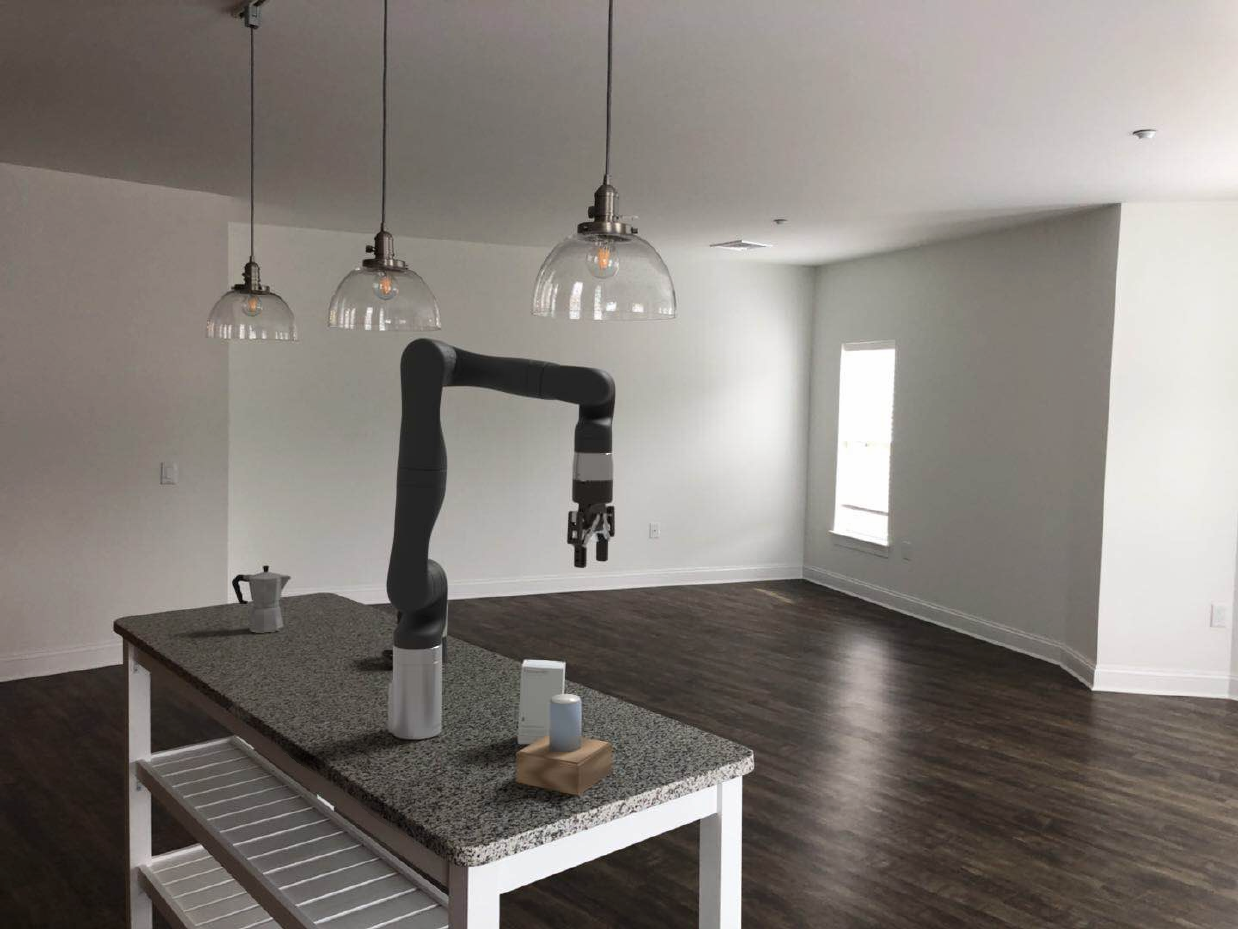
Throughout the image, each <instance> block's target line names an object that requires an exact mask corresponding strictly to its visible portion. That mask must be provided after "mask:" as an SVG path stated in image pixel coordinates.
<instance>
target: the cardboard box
mask: <svg viewBox="0 0 1238 929" xmlns="http://www.w3.org/2000/svg"><path fill="white" fill-rule="evenodd" d="M612 767H613V743H612V742H611V743H610V742H609V741H604V740H598V739H592V738H587V737H583V736H581V748H580V749H579V750H576V751H572V752H558V751H554V750H551V749H550V748H549V734H548V735H547V736H545V737H543V738H541V739H540V740H538V741H536V742H534V743H533V744H528V745H527V746H526V747H523V748H522V749H520V750H518V751H517V752H516V753H515V783H519V784H522V785H527V786H528V785H529V786H531V787H532V786H533V787H537V788H542V789H546V790H550V791H554V792H555V791H556V792H559V793H564V794H569V795H574V796H580V795H581V794H582V793H584V792H585V791H587V790H588V789H590V788H591V787H592V786H594V785H596V784H597V783H598V782H599V781H602V779H604V778H605V777H607V776H608V775H610V774H611V773H612V772H613V768H612Z"/></svg>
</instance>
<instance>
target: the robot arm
mask: <svg viewBox="0 0 1238 929" xmlns="http://www.w3.org/2000/svg"><path fill="white" fill-rule="evenodd" d="M399 371H400V373H399V374H400V389H401V390H400V391H401V392H400V394H401V420H400V430H399V442H398V444H399V446H398V457H397V467H396V487H395V488H396V491H395V493H396V497H395V506H394V508H395V510H394V525H393V538H392V545H391V551H390V557H389V563H388V568H387V575H386V583H385V584H386V586H385V587H386V596H387V598H388V601H389V602H390V604H391V605H392V607H393V608H394V609H396V610H397V612H398V611H400V612H403V615H402V618H401V621H400V623H399V624H398V626H396V627H395V629H394V630H393V632H392V633H393V634H392V644H393V646H392V650H393V655H392V656H393V666H392V682H390V683H388V709H387V710H388V717H387V718H388V722H387V723H388V731H387V733H390V734H392V735H393V736H395V737H396V738H399V739H404V740H425V739H429V738H433V737H436V736H438V735H439V734H441V733H442V721H443V720H442V717H443V716H442V713H443V712H442V709H443V708H442V707H443V705H442V704H443V702H442V701H443V700H442V699H443V698H442V695H443V693H442V692H443V687H442V686H443V662H442V635H443V632H444V629H445V626H446V620H447V621H448V613H447V600H449V599H448V595H449V591H448V590H449V588H448V587H449V585H448V578H447V575H446V572H445V570H444V568H443V566H441V564H439V563H438V562H437V561H436V560H433V559H430V558H429V553H430V552H429V550H430V542H431V536H432V532H433V530H434V527H435V525H436V522H437V520H438V517H439V514H440V512H441V509H442V507H443V504H444V499H445V496H446V493H447V492H446V489H447V480H448V479H447V478H448V454H447V447H446V442H445V437H444V432H443V429H442V428H443V427H442V424H441V423H442V422H441V404H442V394H443V388H447V387H448V388H450V387H451V388H452V387H453V388H454V387H471V388H481V389H488V390H493V391H497V392H501V393H505V394H510V395H514V396H519V397H524V398H529V399H530V398H531V399H537V400H538V399H539V400H546V401H560V402H563V403H569V404H574V405H578V421H577V423H576V425H575V428H574V435H573V436H574V439H573V441H574V443H573V444H574V445H573V446H574V447H573V459H572V473H571V474H572V475H571V476H572V477H571V478H572V481H571V486H572V488H571V500H572V502H573V503H575V504H577V505H578V509H577V510H569V511H568V513H567V514H568V515H567V533H566V535H567V536H566V542H567V544H568V545H571V546H572V547H574V550H573V554H574V555H573V566H574V567H575V568H577V569H578V568H579V569H584V568H586V567H587V561H588V560H587V557H588V554H587V550H588V549H587V548H588V547H587V544H588V543H589V539H591V538H592V537H593V535H594V536H595V539H596V541H595V560H596V561H597V562H607V561H608V559H609V542H611V538H614V537H615V535H616V534H615V533H616V532H615V531H616V529H615V528H616V527H615V525H616V524H615V523H616V522H615V516H616V515H615V513H616V512H615V508H616V507H615V506H614V505H608V504H612V502H613V499H614V498H613V496H614V460H613V420H614V413H615V405H616V394H617V393H616V391H617V390H616V383H615V380H614V378H613V377H612V375H611V374H610V373H609V372H607V371H606V370H603V369H600V368H596V367H587V366H579V365H578V366H577V365H564V364H560V363H557V362H551V361H545V360H539V359H531V358H523V357H508V356H493V355H486V354H480V353H475V352H472V351H468V350H465V349H462V348H458V347H455V346H452V345H450V344H448V343H446V342H444V341H442V340H439V339H432V338H427V337H420V338H416V339H414V340H412V341H411V342H409V343H408V344H407V345H406V347H405V348H404V349H403V352H402V354H401V357H400V363H399ZM606 504H607V505H606Z"/></svg>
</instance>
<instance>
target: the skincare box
mask: <svg viewBox="0 0 1238 929" xmlns="http://www.w3.org/2000/svg"><path fill="white" fill-rule="evenodd" d="M520 670H521V671H520V685H519V686H520V688H519V689H520V690H519V708H518V710H519V711H518V726H517V743H518V745H531V744H533V743H534V742H536V741H538V740H540V739H541V738H543V737H545V736H547V735H548V734H549V726H550V699H551V698H552V697H553V696H555V695H559V694H565V682H566V681H565V678H566V661H558V660H547V659H546V660H543V659H523V662H522V664H521V669H520Z"/></svg>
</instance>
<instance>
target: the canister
mask: <svg viewBox="0 0 1238 929" xmlns="http://www.w3.org/2000/svg"><path fill="white" fill-rule="evenodd" d="M582 703H583V702H582V699H581V697H580V696H578V695H576V694H572V693H571V694H570V693H564V694H559V695H555V696H553V697H552V698H551V699H550V726H549V748H550V749H551V750H554V751H558V752H572V751H576V750H579V749H580V748H581V737H582Z"/></svg>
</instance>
